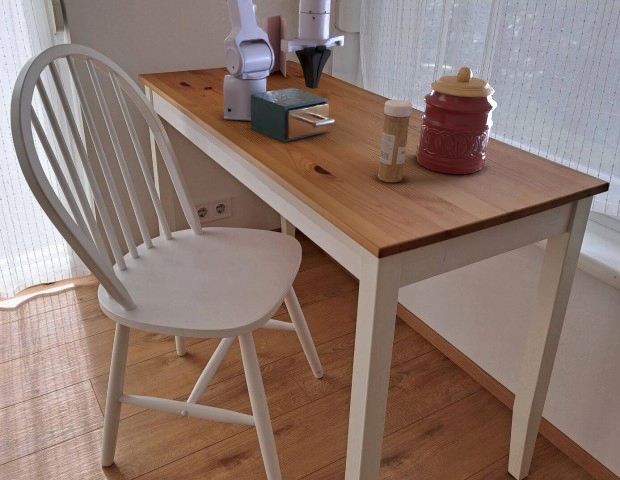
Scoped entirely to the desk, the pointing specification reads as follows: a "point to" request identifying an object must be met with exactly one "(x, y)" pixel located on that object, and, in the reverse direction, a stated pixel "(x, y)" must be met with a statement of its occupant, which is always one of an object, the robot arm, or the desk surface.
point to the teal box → (279, 110)
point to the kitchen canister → (456, 124)
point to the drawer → (307, 120)
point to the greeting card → (276, 40)
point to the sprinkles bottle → (394, 140)
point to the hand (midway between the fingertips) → (311, 87)
